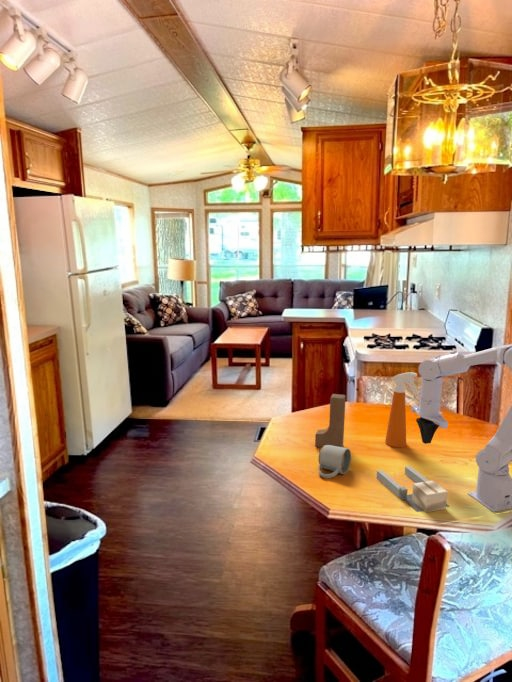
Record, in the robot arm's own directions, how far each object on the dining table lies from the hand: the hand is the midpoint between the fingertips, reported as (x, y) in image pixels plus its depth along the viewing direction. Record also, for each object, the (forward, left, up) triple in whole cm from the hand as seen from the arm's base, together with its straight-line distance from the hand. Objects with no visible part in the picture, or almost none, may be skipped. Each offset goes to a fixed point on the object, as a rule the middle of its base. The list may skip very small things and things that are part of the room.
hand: (426, 442), depth 142 cm
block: (-16, +10, -10) cm, 21 cm away
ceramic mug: (+8, +26, -10) cm, 29 cm away
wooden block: (+26, +19, -10) cm, 34 cm away
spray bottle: (+20, -5, -10) cm, 23 cm away
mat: (-14, +10, -10) cm, 20 cm away
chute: (-6, +10, -10) cm, 15 cm away
